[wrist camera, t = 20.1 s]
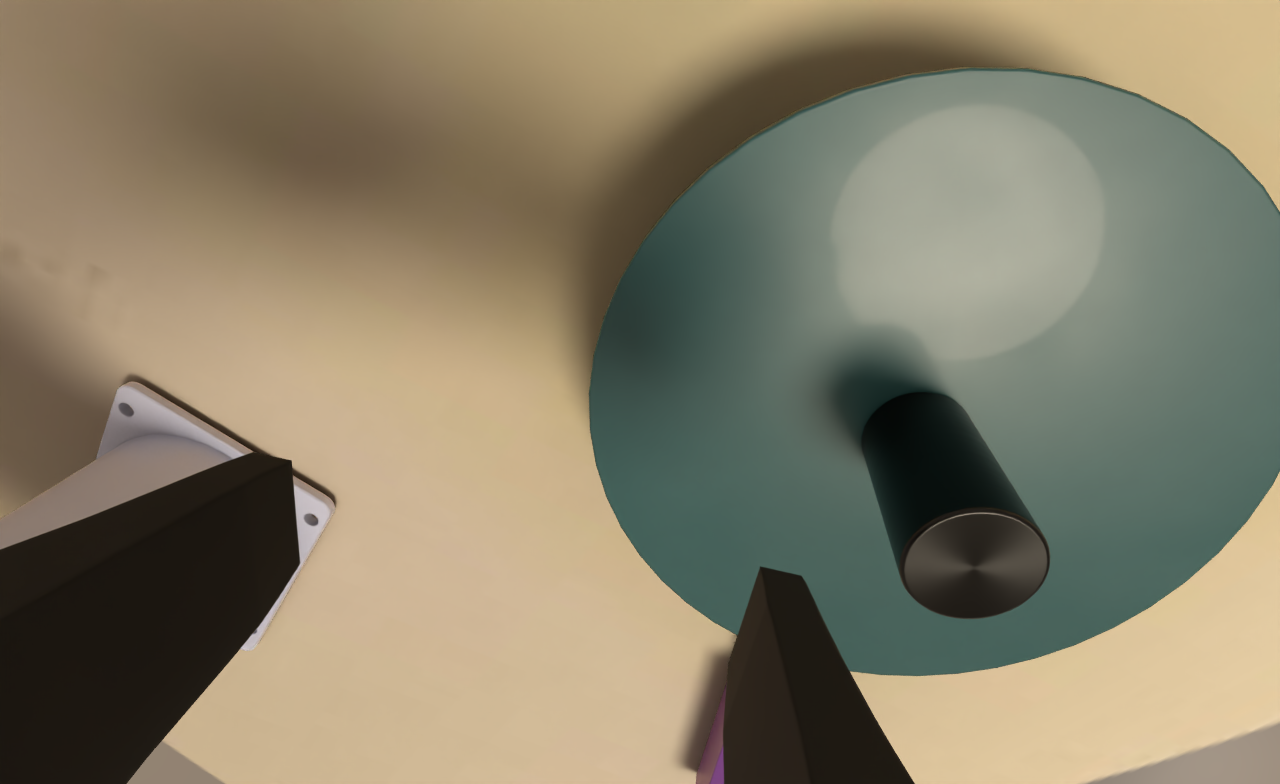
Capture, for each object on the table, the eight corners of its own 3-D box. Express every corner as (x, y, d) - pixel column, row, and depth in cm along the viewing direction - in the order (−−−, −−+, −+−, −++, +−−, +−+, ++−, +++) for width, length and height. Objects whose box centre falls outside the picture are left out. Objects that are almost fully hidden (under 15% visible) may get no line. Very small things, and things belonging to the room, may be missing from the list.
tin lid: (912, 721, 21) (963, 925, 16) (493, 453, 18) (403, 595, 14) (1447, 364, 14) (1821, 527, 9) (893, -121, 12) (998, -249, 7)
